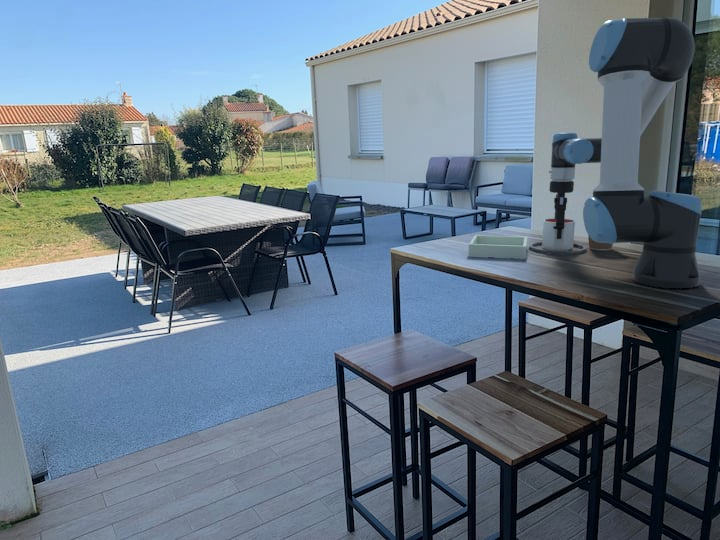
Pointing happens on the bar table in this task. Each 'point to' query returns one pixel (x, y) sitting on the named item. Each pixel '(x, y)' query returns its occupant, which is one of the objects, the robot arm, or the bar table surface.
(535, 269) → the bar table surface
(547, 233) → the cup
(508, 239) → the bin
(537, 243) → the socket ring
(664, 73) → the robot arm
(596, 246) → the coffee cup
